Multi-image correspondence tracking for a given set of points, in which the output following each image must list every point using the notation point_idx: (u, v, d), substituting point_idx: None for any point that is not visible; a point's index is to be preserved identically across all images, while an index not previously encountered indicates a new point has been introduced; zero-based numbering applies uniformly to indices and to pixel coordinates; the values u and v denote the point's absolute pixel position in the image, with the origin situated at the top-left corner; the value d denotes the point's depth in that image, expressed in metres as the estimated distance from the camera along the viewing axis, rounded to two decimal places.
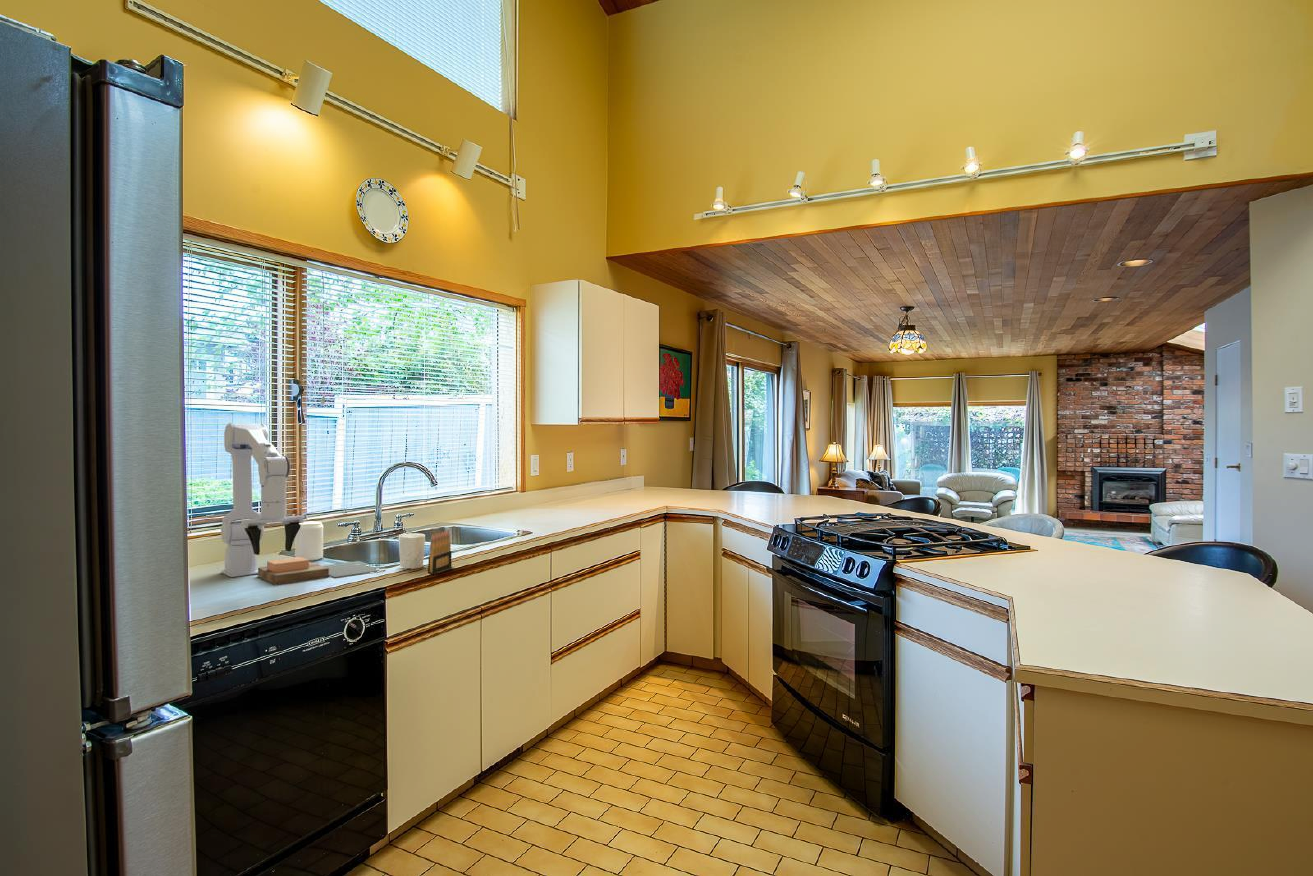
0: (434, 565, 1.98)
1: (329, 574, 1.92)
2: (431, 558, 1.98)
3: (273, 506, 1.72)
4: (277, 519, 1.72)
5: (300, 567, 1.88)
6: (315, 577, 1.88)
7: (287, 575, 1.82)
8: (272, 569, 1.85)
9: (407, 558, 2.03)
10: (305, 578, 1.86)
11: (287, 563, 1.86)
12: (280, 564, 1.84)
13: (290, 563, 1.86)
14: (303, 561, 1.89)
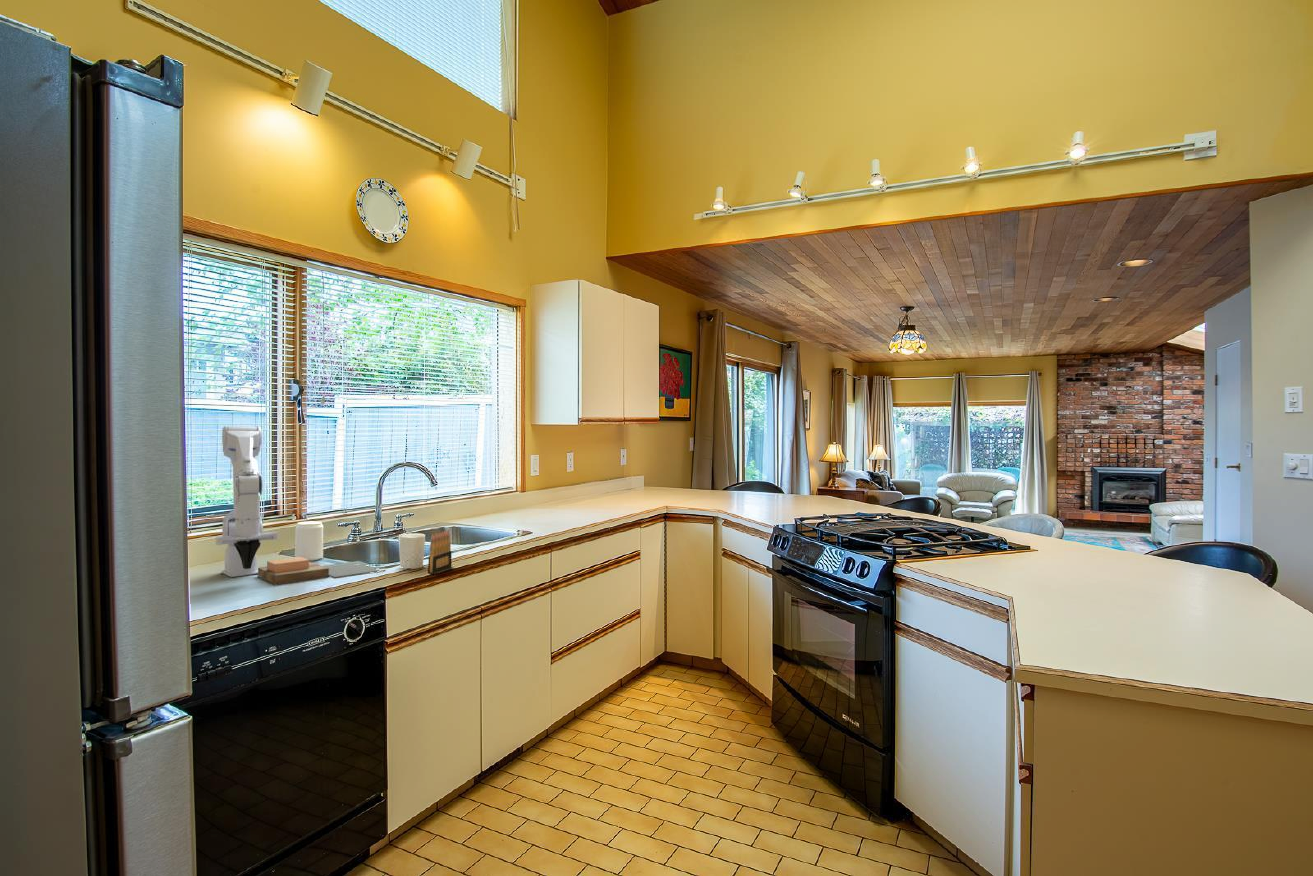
0: (434, 565, 1.98)
1: (329, 574, 1.92)
2: (431, 558, 1.98)
3: (247, 523, 1.78)
4: (251, 536, 1.78)
5: (300, 567, 1.88)
6: (315, 577, 1.88)
7: (287, 575, 1.82)
8: (272, 569, 1.85)
9: (407, 558, 2.03)
10: (305, 578, 1.86)
11: (287, 563, 1.86)
12: (280, 564, 1.84)
13: (290, 563, 1.86)
14: (303, 561, 1.89)
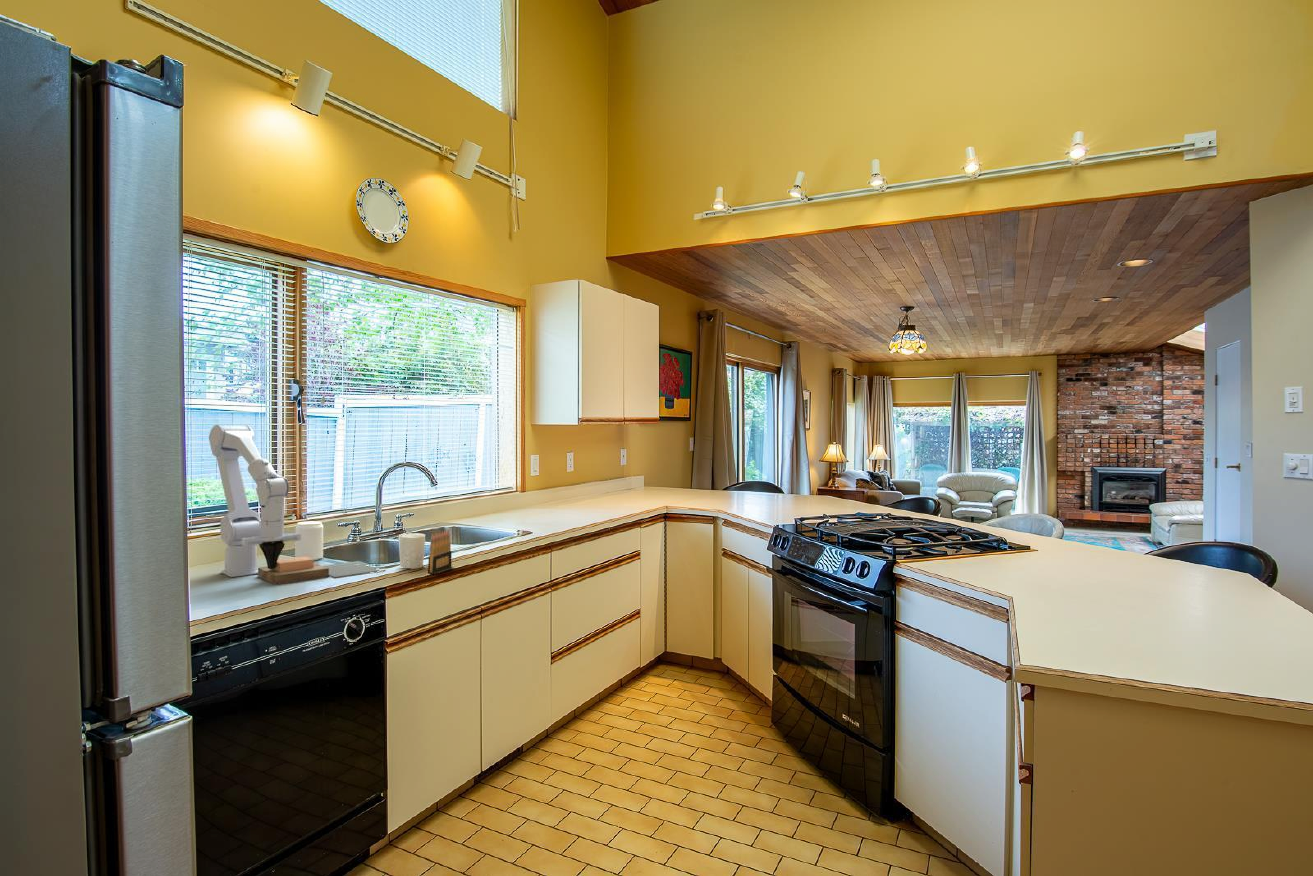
0: (434, 565, 1.98)
1: (329, 574, 1.92)
2: (431, 558, 1.98)
3: (272, 525, 1.83)
4: (275, 537, 1.83)
5: (305, 566, 1.89)
6: (315, 577, 1.88)
7: (287, 575, 1.82)
8: (277, 569, 1.86)
9: (407, 558, 2.03)
10: (305, 578, 1.86)
11: (292, 562, 1.87)
12: (285, 563, 1.85)
13: (295, 562, 1.87)
14: (308, 560, 1.90)
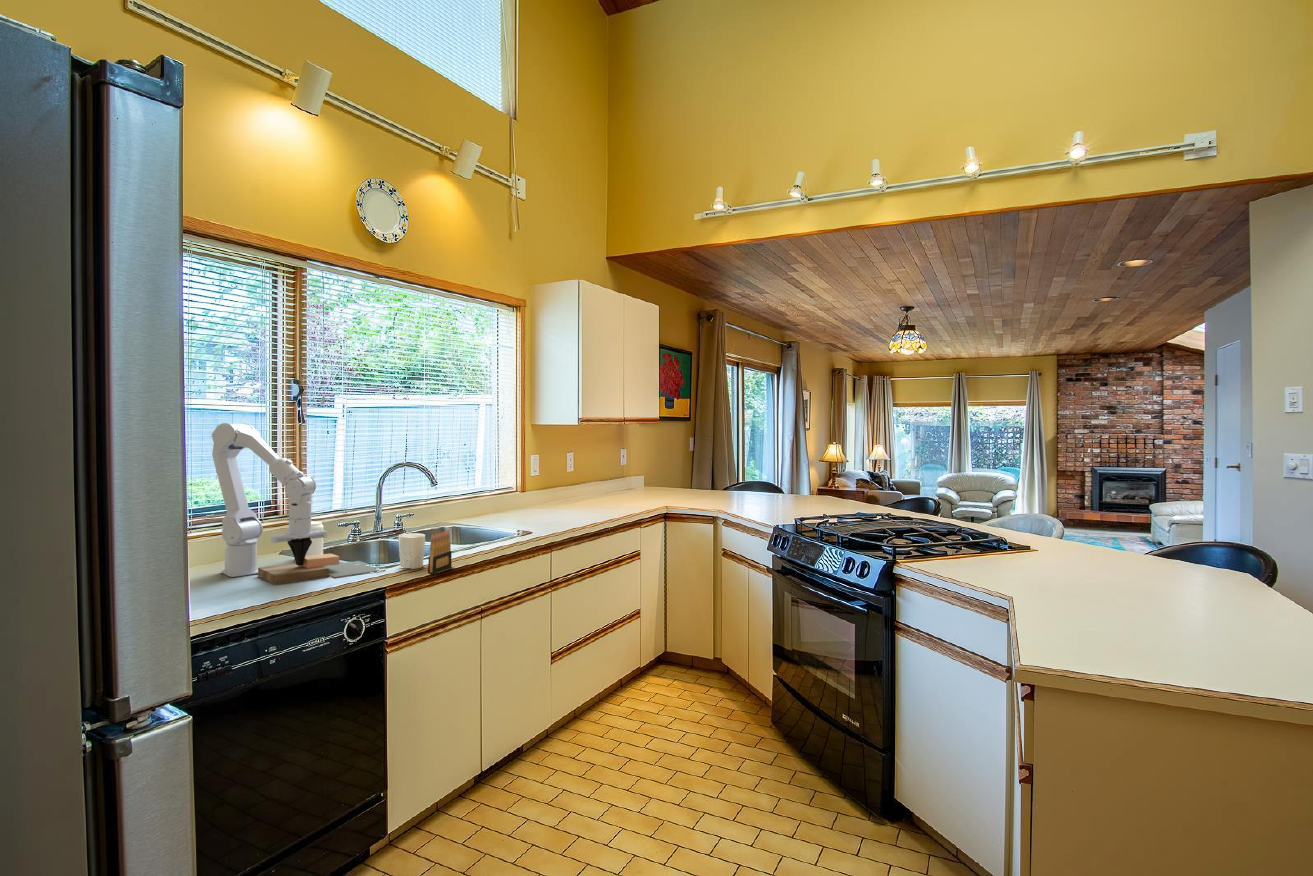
0: (434, 565, 1.98)
1: (329, 574, 1.92)
2: (431, 558, 1.98)
3: (300, 522, 1.88)
4: (304, 534, 1.88)
5: (331, 563, 1.95)
6: (315, 577, 1.88)
7: (287, 575, 1.82)
8: (304, 565, 1.91)
9: (407, 558, 2.03)
10: (305, 578, 1.86)
11: (319, 559, 1.92)
12: (312, 560, 1.91)
13: (322, 559, 1.93)
14: (334, 557, 1.95)
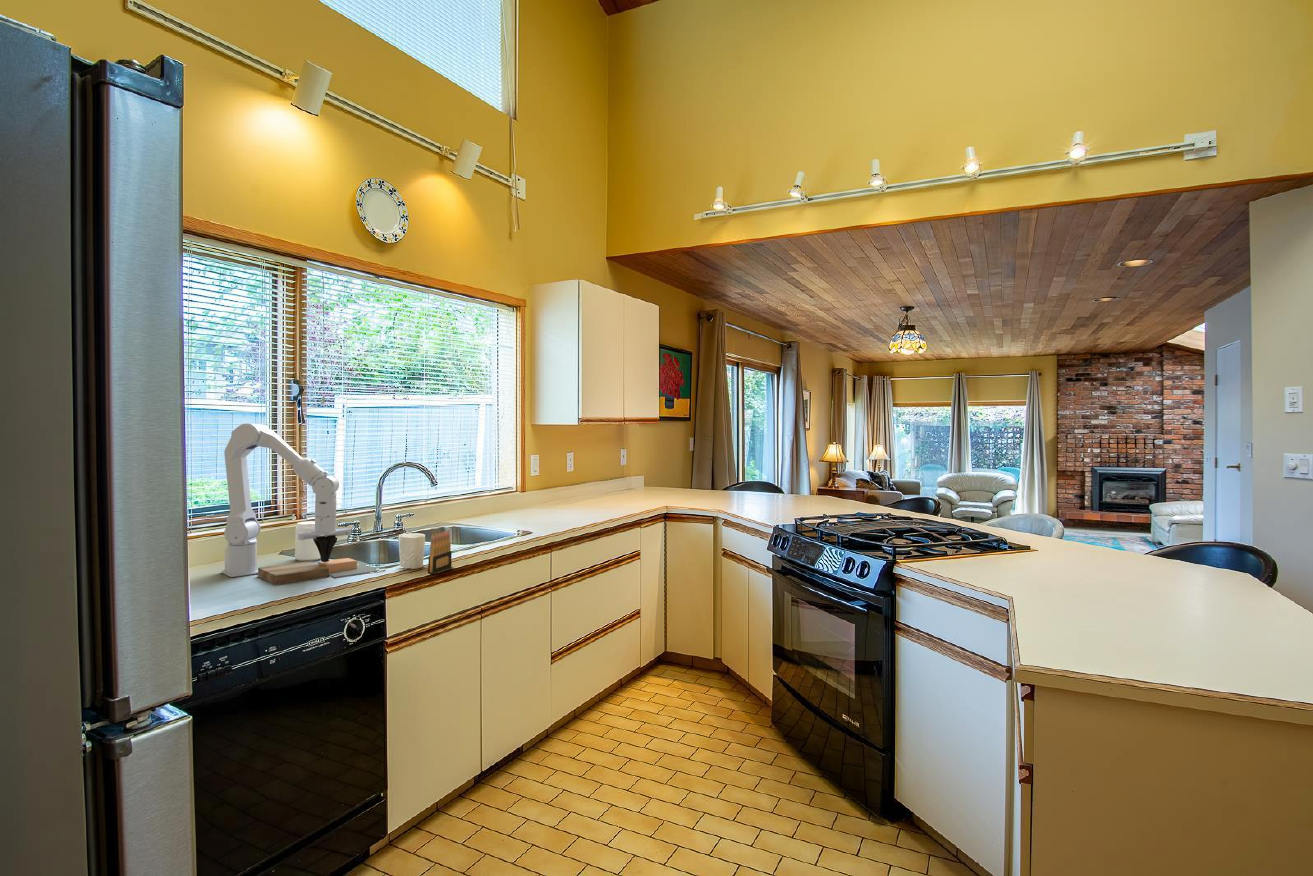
0: (434, 565, 1.98)
1: (329, 574, 1.92)
2: (431, 558, 1.98)
3: (326, 520, 1.94)
4: (329, 532, 1.94)
5: (349, 567, 1.99)
6: (315, 577, 1.88)
7: (287, 575, 1.82)
8: None
9: (407, 558, 2.03)
10: (305, 578, 1.86)
11: (337, 564, 1.96)
12: (331, 565, 1.95)
13: (340, 564, 1.97)
14: (352, 562, 1.99)
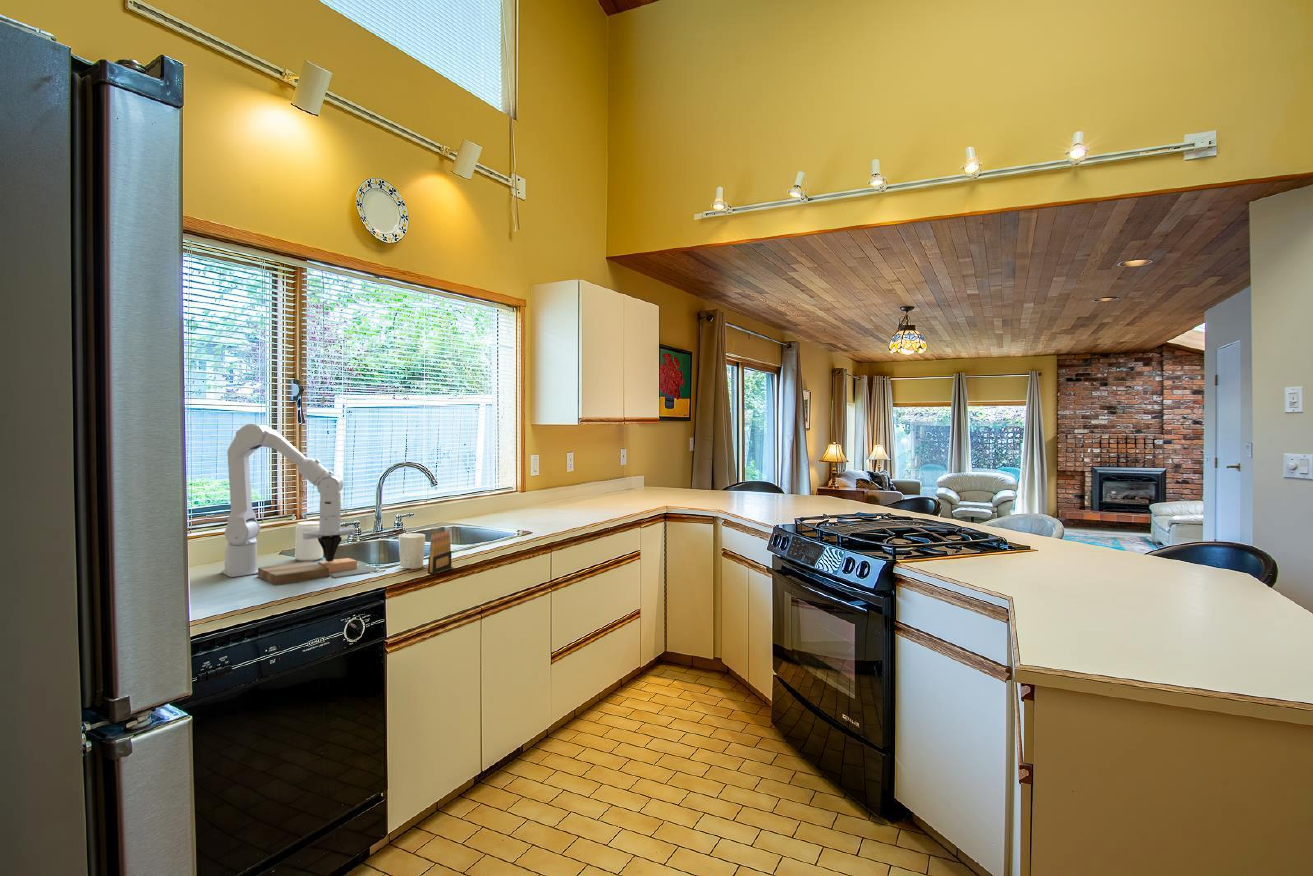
0: (434, 565, 1.98)
1: (329, 574, 1.92)
2: (431, 558, 1.98)
3: (330, 520, 1.95)
4: (334, 531, 1.95)
5: (349, 567, 1.99)
6: (315, 577, 1.88)
7: (287, 575, 1.82)
8: None
9: (407, 558, 2.03)
10: (305, 578, 1.86)
11: (337, 564, 1.96)
12: (331, 565, 1.95)
13: (340, 564, 1.97)
14: (352, 562, 1.99)
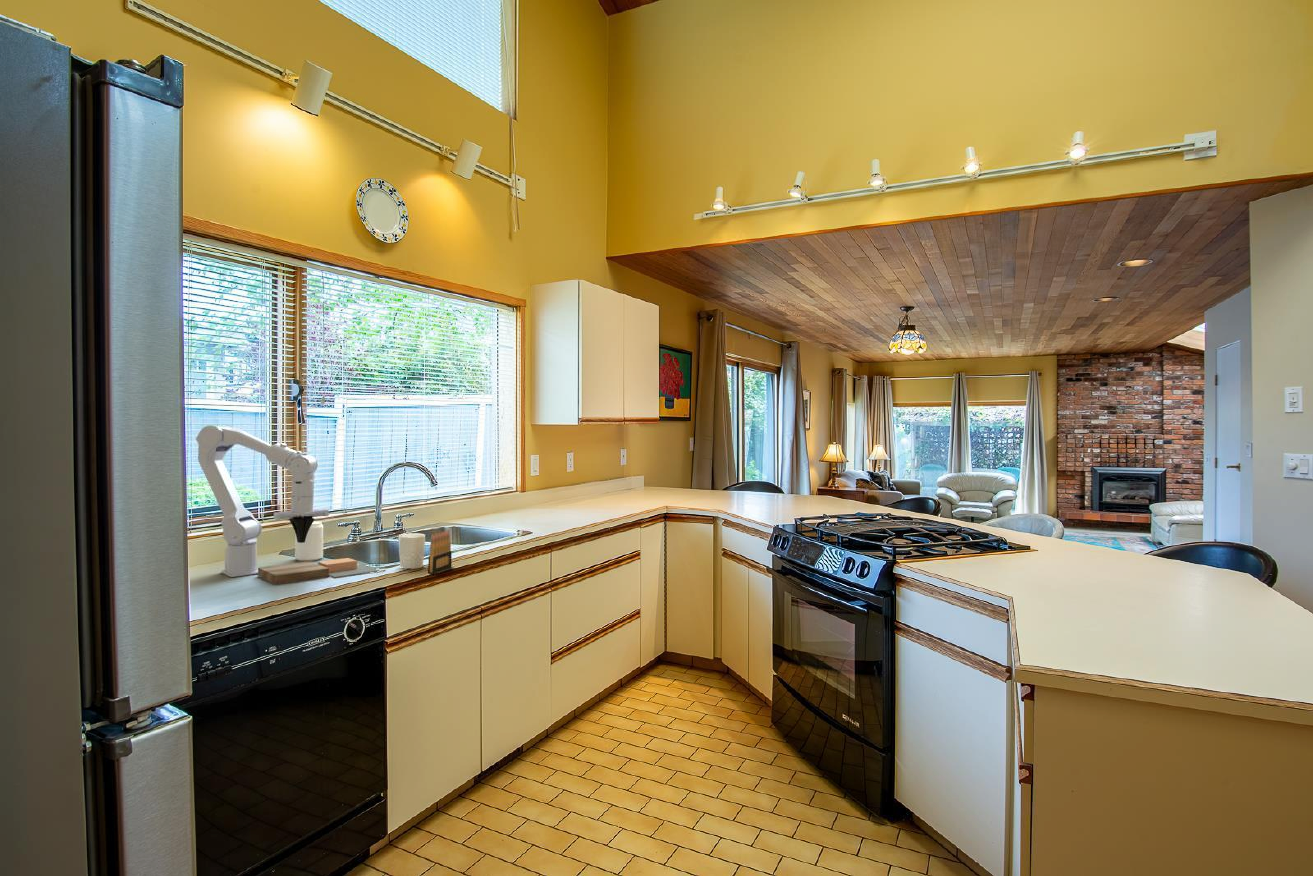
0: (434, 565, 1.98)
1: (329, 574, 1.92)
2: (431, 558, 1.98)
3: (302, 500, 1.91)
4: (306, 512, 1.91)
5: (349, 567, 1.99)
6: (315, 577, 1.88)
7: (287, 575, 1.82)
8: None
9: (407, 558, 2.03)
10: (305, 578, 1.86)
11: (337, 564, 1.96)
12: (331, 565, 1.95)
13: (340, 564, 1.97)
14: (352, 562, 1.99)
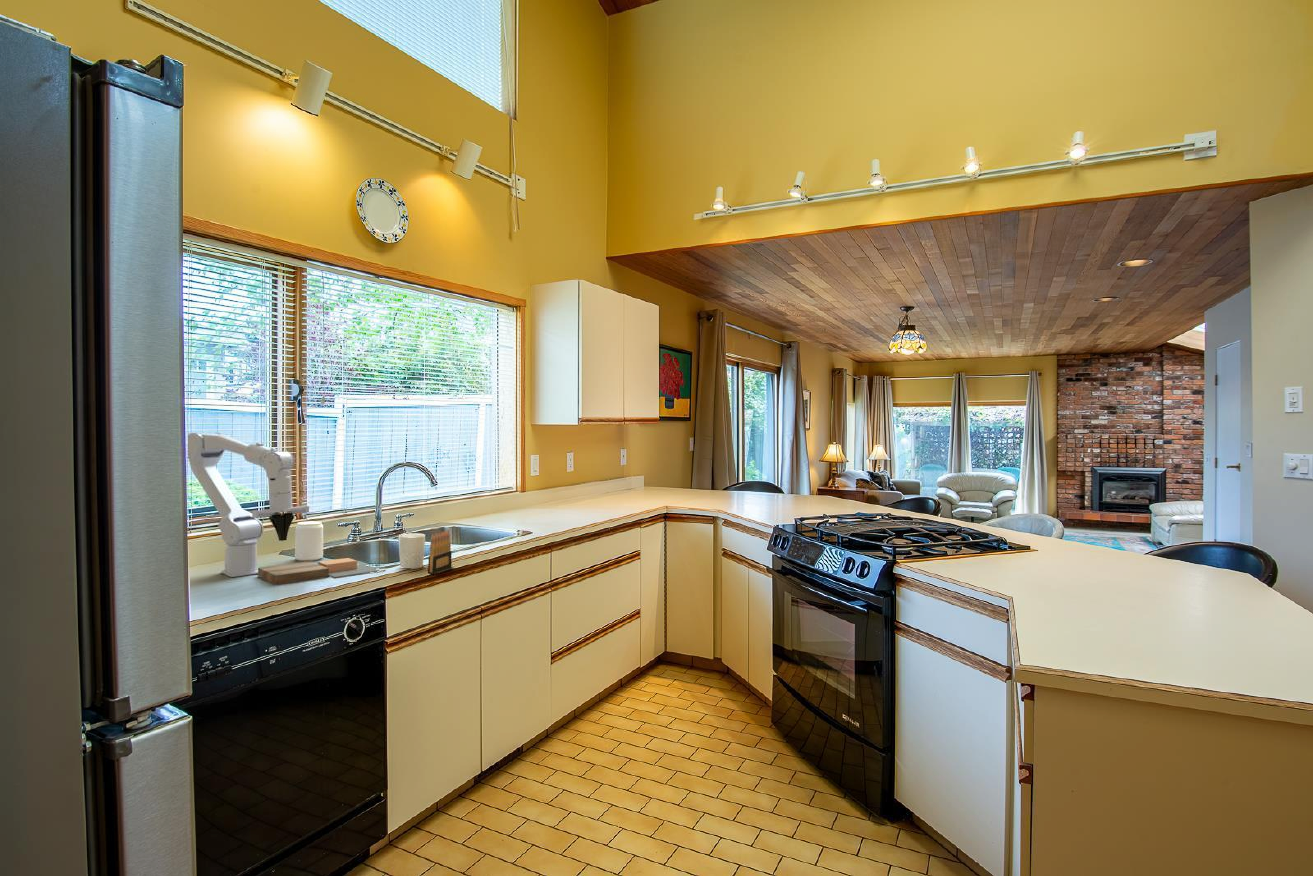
0: (434, 565, 1.98)
1: (329, 574, 1.92)
2: (431, 558, 1.98)
3: (280, 497, 1.87)
4: (285, 508, 1.87)
5: (349, 567, 1.99)
6: (315, 577, 1.88)
7: (287, 575, 1.82)
8: None
9: (407, 558, 2.03)
10: (305, 578, 1.86)
11: (337, 564, 1.96)
12: (331, 565, 1.95)
13: (340, 564, 1.97)
14: (352, 562, 1.99)
